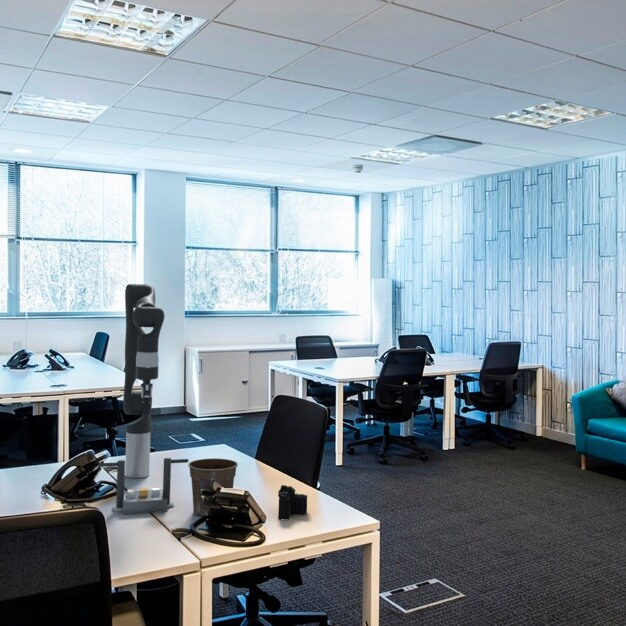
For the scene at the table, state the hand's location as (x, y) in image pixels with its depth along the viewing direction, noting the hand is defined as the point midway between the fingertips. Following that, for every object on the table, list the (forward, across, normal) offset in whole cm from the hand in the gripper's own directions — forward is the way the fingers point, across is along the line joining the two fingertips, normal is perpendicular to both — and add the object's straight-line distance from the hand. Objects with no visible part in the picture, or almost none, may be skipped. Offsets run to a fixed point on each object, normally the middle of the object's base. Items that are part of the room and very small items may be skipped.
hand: (146, 411), depth 231 cm
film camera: (+30, +23, +48) cm, 61 cm away
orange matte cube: (+26, +10, 0) cm, 28 cm away
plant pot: (+30, +18, +22) cm, 41 cm away
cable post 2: (+31, +9, +9) cm, 33 cm away
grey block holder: (+30, +10, 0) cm, 32 cm away
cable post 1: (+30, +11, -10) cm, 34 cm away
